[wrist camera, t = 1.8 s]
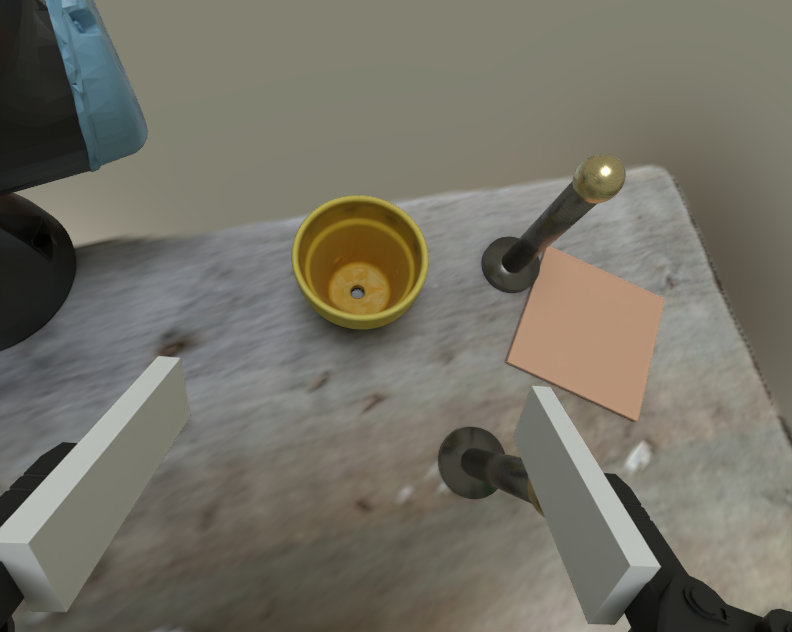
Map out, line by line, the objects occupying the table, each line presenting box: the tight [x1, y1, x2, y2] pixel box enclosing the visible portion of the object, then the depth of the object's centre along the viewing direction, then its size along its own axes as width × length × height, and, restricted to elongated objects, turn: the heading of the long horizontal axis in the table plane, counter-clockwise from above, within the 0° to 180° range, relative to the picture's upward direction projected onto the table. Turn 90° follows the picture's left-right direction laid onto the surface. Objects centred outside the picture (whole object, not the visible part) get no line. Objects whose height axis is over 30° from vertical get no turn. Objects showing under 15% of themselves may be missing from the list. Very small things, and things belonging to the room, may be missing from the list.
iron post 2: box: [482, 154, 626, 293], centre depth 32 cm, size 6×6×17 cm
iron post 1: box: [438, 427, 545, 517], centre depth 26 cm, size 6×6×17 cm
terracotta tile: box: [505, 246, 665, 421], centre depth 39 cm, size 14×14×1 cm
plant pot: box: [292, 195, 429, 329], centre depth 33 cm, size 10×10×10 cm
